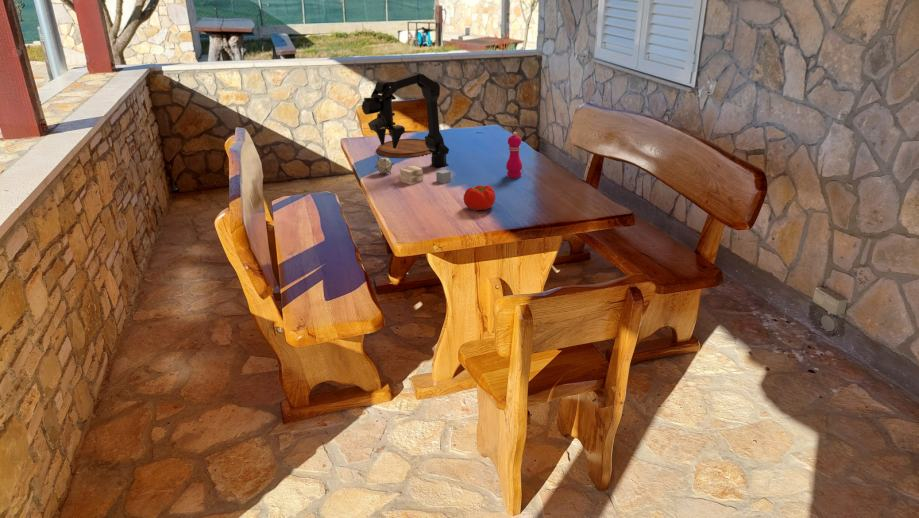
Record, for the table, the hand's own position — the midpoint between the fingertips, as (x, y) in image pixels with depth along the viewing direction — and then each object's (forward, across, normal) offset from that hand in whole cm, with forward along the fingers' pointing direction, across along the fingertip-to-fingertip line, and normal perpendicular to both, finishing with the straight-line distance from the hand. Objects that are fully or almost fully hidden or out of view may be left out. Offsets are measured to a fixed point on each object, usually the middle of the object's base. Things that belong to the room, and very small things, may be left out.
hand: (388, 146), depth 278 cm
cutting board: (+15, -35, +35) cm, 52 cm away
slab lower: (+15, +10, +4) cm, 19 cm away
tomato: (+15, +57, +2) cm, 59 cm away
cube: (+15, +20, +14) cm, 29 cm away
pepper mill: (+15, +37, +41) cm, 57 cm away
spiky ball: (+15, -8, +2) cm, 17 cm away
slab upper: (+12, +10, +4) cm, 16 cm away
